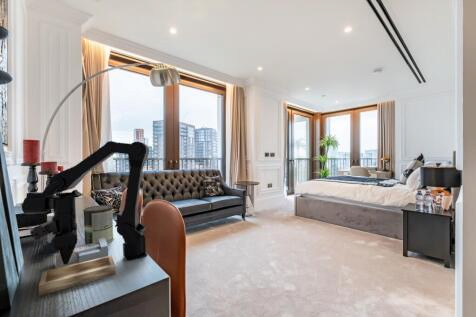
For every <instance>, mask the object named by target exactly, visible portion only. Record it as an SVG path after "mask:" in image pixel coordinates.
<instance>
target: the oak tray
mask: <svg viewBox="0 0 476 317" xmlns="http://www.w3.org/2000/svg"><path fill="white" fill-rule="evenodd" d="M116 272H117V271H116V263H115V260H114V258H113V256H112V254H111V255H108V256H106V257H102V258H98V259H93V260H89V261H85V262H81V263H76V264H72V265H68V266H64V267H60V268H56V267H55V268H52V269H47V270H44V271H42V273H41V277H40V280H39V284H38V297H41V296H45V295H48V294H52V293H55V292H58V291H62V290H65V289H68V288H73V287H76V286H80V285H83V284H86V283H91V282H93V281H96V280H101V279H104V278H108V277H111V276H115V275H116V274H117V273H116Z"/></svg>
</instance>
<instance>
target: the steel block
mask: <svg viewBox="0 0 476 317" xmlns="http://www.w3.org/2000/svg"><path fill="white" fill-rule="evenodd" d="M98 249H100V246H99V245H98V244H97V243H96V244H92V245H87V246H83V247H79V246H78V247H75V248H74V251H73V253H72V255H71V258H70V260H69V262H68V264H65V265H64V264H63V261H62V258H61V255H60V252H59V251H57V252H53V253H54V266H55V269H56V268H60V267H64V266H68V265H72V264H77V263H79V253H84V252H88V251H93V250H98Z"/></svg>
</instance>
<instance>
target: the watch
mask: <svg viewBox="0 0 476 317" xmlns="http://www.w3.org/2000/svg"><path fill="white" fill-rule="evenodd" d="M54 235H55V234H53V235H52V233H50V234H48V235H47V241H44V242H43V243H42V255H47V254H52V253H57V252H59V250H57V249H54V248H52V247H51V240H52V237H53V236H54Z"/></svg>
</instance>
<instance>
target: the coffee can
mask: <svg viewBox="0 0 476 317" xmlns="http://www.w3.org/2000/svg"><path fill="white" fill-rule="evenodd" d="M113 208H114V207H113V205H110V204H102V205H101V204H99V205H93V206H88V207H85V208H83V210H82V212H83V228H84V231H83V232H84V233H83V234H84V245H87V244H92V243H97V242H99V240H98V239H99V238H104V237H105V239H106V242H107V244H109V243H112V242H113V241H114V222H113V221H114V220H113V219H114V218H113Z"/></svg>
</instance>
